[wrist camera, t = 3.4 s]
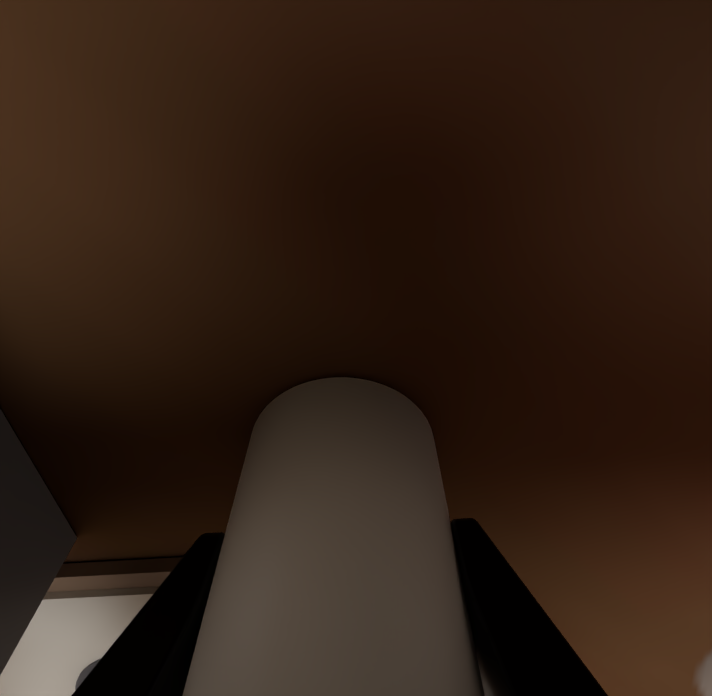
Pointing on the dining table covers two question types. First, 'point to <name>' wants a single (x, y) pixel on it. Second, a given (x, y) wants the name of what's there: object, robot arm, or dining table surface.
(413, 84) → the dining table surface
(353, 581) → the grey cylinder
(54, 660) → the white flat square panel
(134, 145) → the dining table surface
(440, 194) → the dining table surface
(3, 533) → the button housing
